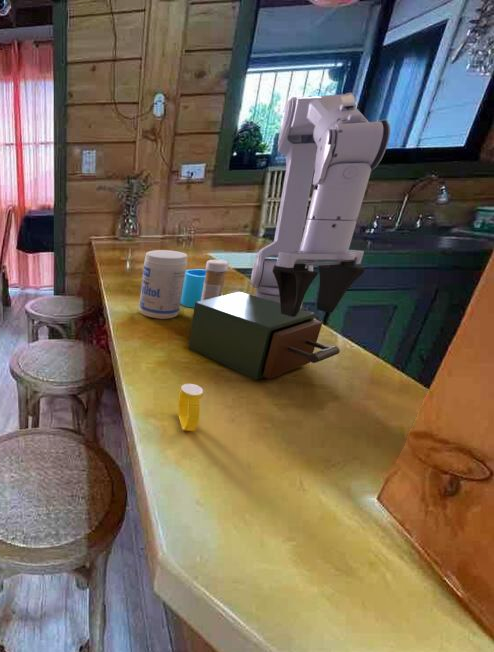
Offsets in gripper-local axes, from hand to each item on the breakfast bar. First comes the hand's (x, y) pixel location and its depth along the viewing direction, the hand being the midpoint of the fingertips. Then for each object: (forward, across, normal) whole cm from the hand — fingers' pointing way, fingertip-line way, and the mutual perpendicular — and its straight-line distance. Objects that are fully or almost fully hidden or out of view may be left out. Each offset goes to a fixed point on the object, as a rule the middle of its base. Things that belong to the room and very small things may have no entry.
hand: (306, 313), depth 57 cm
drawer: (+11, +2, +6) cm, 13 cm away
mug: (+9, +15, +40) cm, 44 cm away
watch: (+14, -22, -3) cm, 27 cm away
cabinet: (+11, +1, +11) cm, 16 cm away
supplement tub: (+10, 0, +36) cm, 37 cm away
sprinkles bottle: (+10, +9, +29) cm, 32 cm away
